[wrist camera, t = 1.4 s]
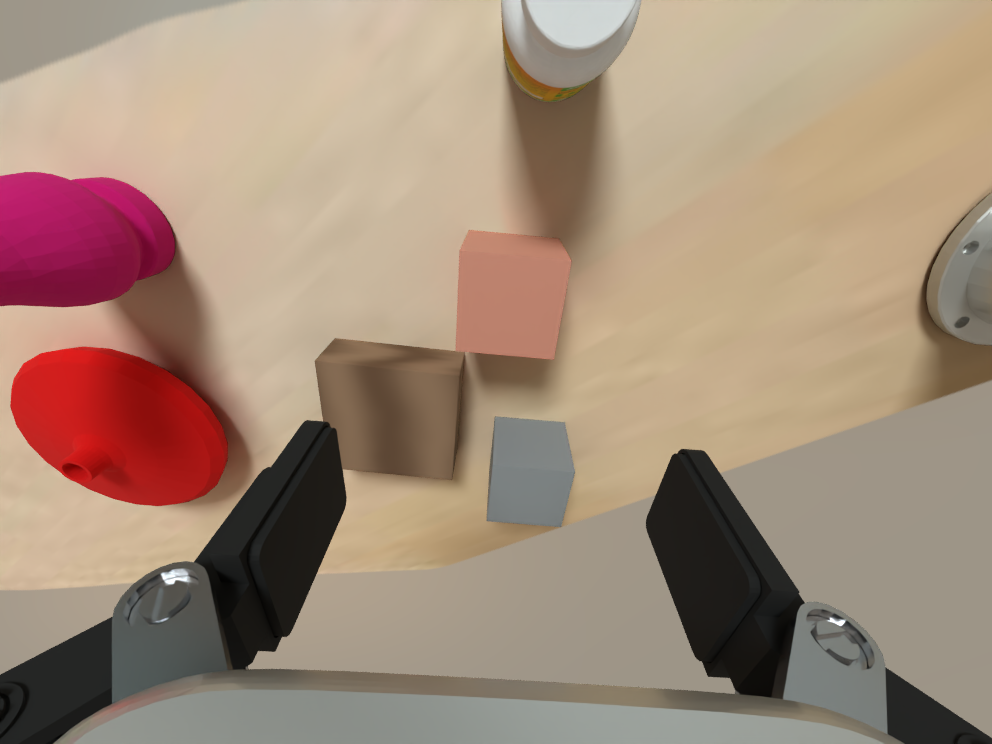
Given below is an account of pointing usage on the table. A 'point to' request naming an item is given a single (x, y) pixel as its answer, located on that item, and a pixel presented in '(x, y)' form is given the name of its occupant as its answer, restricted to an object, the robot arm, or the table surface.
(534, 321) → the salmon pink cube
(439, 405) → the walnut block
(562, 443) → the grey cube
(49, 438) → the flat cone with hole
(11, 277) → the pepper mill
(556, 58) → the supplement bottle
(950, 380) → the table surface
